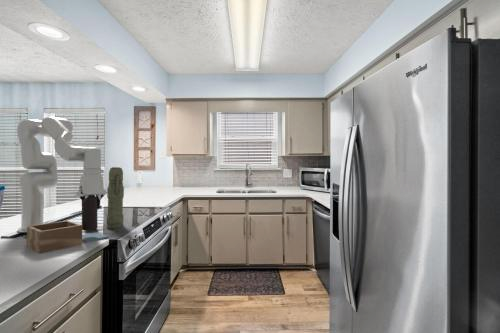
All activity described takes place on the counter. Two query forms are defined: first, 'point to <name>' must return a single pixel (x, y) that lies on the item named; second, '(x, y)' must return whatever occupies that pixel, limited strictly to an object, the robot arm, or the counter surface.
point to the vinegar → (89, 213)
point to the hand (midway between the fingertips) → (91, 208)
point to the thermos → (115, 198)
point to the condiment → (93, 229)
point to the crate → (54, 236)
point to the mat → (93, 237)
